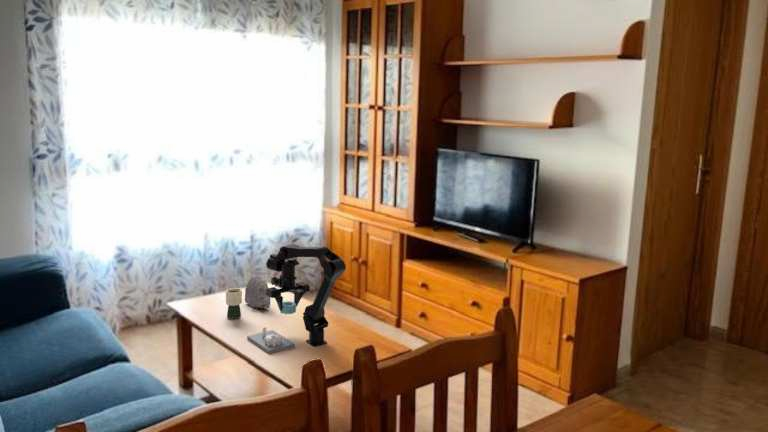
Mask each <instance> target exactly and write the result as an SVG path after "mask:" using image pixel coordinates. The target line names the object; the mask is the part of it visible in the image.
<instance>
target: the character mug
mask: <svg viewBox="0 0 768 432" xmlns="http://www.w3.org/2000/svg"><path fill="white" fill-rule="evenodd" d="M242 296H243V289H241V288H237V287H232V288H231V287H230V288H227V289H226V290H225V304H226V305H227V306H228V307H227V313H226V314H227V315H226V317H227V318H228V319H238V318H239V319H240V318H241V317H242V312H241V307H240V305H241V304H242V303H243V298H242Z"/></svg>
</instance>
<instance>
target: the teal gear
mask: <svg viewBox="0 0 768 432" xmlns="http://www.w3.org/2000/svg"><path fill="white" fill-rule="evenodd" d="M279 311H280V310H279ZM296 312H297V307H296V303H295V302H294V301H291V300H289V301H286V300H285V301H284V300H283V304H282V311H280V312H279V313H280V314H284V315H293V314H294V313H296Z"/></svg>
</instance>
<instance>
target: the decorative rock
mask: <svg viewBox="0 0 768 432" xmlns="http://www.w3.org/2000/svg"><path fill="white" fill-rule="evenodd" d="M267 288H269V285H268V283H267V281H266V279H264V278H263V277H261V276H260V275H259V276H258V275H256V276H254V277H253V276H252V277H251V278H250V279H249V280H248V282H247V284H246V286H245V289H244V302H245V303H246V304H248V305H249V306H250V307H252V308H253V309H258V308H260V309H270V307H271V297H269V296H267V295H266V290H267Z"/></svg>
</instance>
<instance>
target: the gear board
mask: <svg viewBox="0 0 768 432" xmlns="http://www.w3.org/2000/svg"><path fill="white" fill-rule="evenodd" d="M246 338H247V341H248V342H251V344H254V345H255V346H256V347H258V348H259V349H261V350H263V351H264V352H266V353H267V354H270V355H271V354H274V353H277V352H281V351H285V350H286V351H287V350H288V349H293V348H296V345H295V343H294V342H293V341H291V340H290V339H288V338H286V337H284V336H283V335H282V334H279V333H278V332H277V331H275V330H274V329H272V330H267V326H262V330H261V332H258V333H254V334H251V335H247V337H246Z"/></svg>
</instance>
